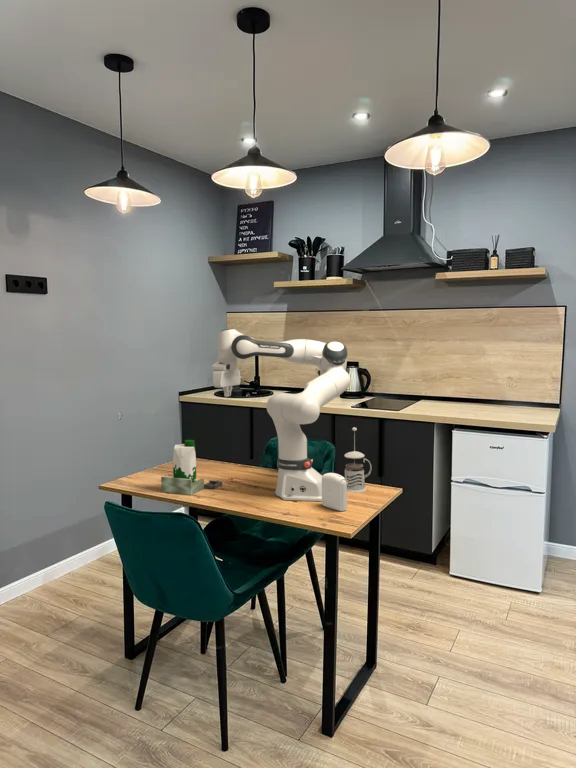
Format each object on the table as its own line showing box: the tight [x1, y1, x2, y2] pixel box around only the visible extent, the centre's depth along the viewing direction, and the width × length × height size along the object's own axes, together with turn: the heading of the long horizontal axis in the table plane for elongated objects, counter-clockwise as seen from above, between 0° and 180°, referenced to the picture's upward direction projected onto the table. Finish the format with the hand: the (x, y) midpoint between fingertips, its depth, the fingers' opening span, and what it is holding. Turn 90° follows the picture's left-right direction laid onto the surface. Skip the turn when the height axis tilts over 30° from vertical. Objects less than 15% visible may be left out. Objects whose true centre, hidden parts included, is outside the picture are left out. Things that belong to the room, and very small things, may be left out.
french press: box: [343, 426, 373, 494], centre depth 210 cm, size 10×12×25 cm
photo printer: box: [321, 472, 348, 512], centre depth 187 cm, size 10×4×12 cm, turn 39°
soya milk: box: [172, 439, 197, 483], centre depth 212 cm, size 9×9×20 cm
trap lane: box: [160, 476, 223, 496], centre depth 215 cm, size 23×17×6 cm
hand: (227, 396), depth 235 cm, fingers closed
